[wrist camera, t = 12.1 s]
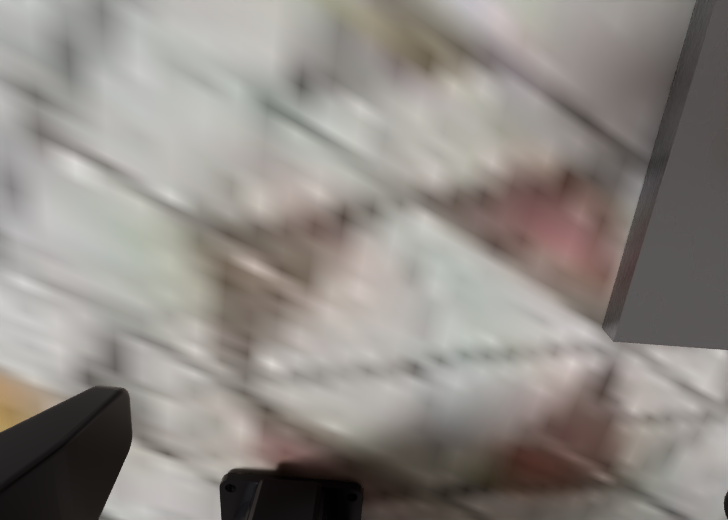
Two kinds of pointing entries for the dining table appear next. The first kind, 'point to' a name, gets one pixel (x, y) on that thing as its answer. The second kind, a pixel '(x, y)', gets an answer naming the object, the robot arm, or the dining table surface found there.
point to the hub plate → (683, 207)
